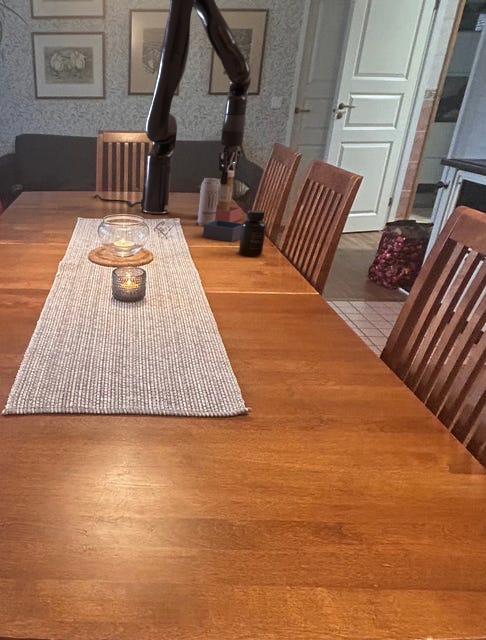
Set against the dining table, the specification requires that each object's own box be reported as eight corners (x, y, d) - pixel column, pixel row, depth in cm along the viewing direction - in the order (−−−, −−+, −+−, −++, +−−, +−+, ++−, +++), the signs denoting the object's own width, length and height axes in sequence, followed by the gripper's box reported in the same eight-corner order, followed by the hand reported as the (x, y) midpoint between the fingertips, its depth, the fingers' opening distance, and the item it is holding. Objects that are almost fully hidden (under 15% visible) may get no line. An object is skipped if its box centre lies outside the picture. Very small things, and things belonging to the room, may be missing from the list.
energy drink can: (202, 227, 207) (207, 180, 199) (194, 223, 212) (199, 177, 204) (217, 226, 209) (223, 179, 201) (208, 222, 214) (214, 177, 206)
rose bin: (203, 219, 219) (204, 207, 217) (215, 215, 227) (216, 204, 224) (229, 223, 215) (230, 211, 212) (239, 219, 222) (241, 208, 220)
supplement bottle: (263, 253, 177) (271, 210, 170) (258, 258, 171) (265, 214, 165) (241, 250, 179) (247, 208, 173) (235, 255, 174) (241, 211, 167)
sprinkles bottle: (231, 210, 219) (237, 170, 212) (224, 212, 216) (229, 171, 209) (221, 209, 222) (226, 169, 215) (214, 210, 219) (219, 170, 212)
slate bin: (202, 237, 193) (204, 224, 191) (215, 232, 201) (217, 219, 198) (231, 241, 189) (233, 228, 186) (243, 236, 196) (245, 224, 194)
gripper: (231, 128, 212) (224, 180, 221) (214, 129, 202) (208, 184, 211) (251, 129, 208) (243, 182, 217) (235, 131, 198) (228, 186, 207)
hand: (226, 183), depth 214 cm, fingers closed on sprinkles bottle, 4 cm apart
